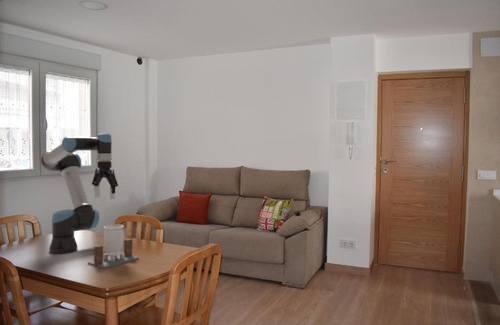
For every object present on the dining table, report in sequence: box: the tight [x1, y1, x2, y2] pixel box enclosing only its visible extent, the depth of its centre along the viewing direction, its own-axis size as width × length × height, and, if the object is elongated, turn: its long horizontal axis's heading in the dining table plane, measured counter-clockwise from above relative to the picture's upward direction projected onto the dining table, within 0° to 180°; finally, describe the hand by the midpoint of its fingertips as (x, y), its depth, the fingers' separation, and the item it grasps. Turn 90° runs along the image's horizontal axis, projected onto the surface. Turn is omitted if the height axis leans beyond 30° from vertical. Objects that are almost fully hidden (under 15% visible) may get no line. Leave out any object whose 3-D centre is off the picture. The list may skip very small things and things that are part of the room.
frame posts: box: [93, 238, 133, 268], centre depth 221 cm, size 3×22×10 cm, turn 146°
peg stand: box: [87, 252, 140, 270], centre depth 221 cm, size 14×22×4 cm, turn 146°
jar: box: [102, 224, 125, 257], centre depth 221 cm, size 11×10×15 cm
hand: (104, 198), depth 237 cm, fingers open, 13 cm apart
